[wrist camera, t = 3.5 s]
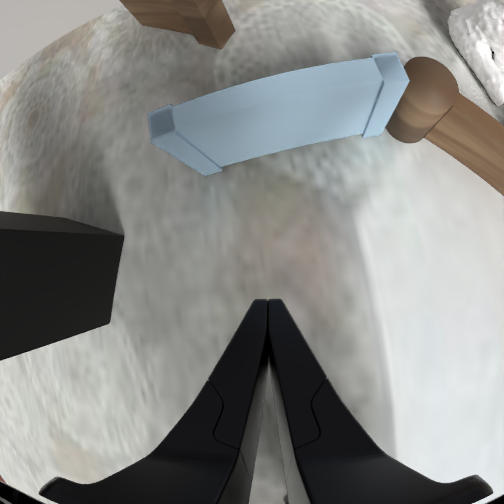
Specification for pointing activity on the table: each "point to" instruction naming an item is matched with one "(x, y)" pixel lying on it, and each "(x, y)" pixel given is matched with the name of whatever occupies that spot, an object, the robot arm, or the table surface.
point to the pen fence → (407, 110)
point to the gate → (281, 112)
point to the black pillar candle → (53, 280)
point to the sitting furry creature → (482, 42)
